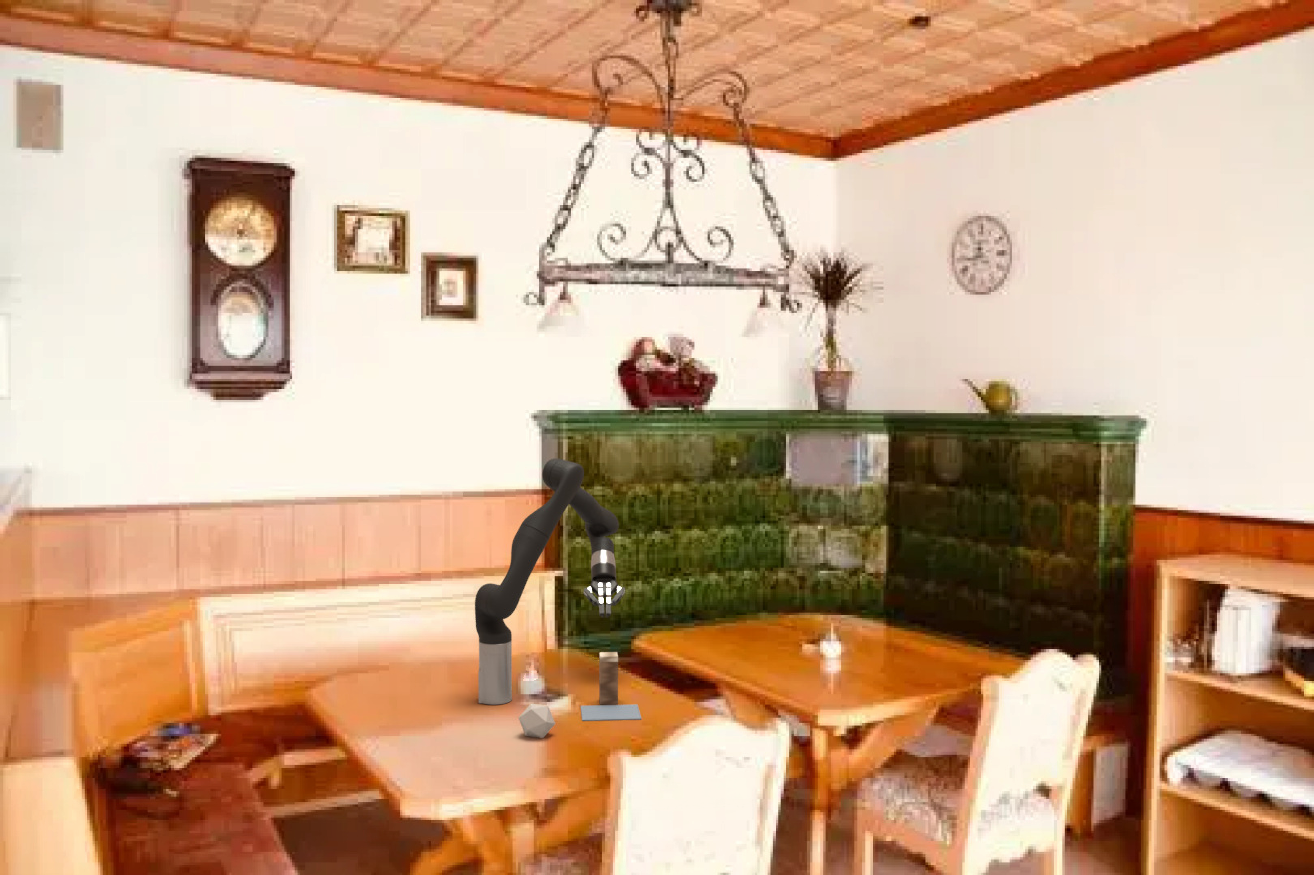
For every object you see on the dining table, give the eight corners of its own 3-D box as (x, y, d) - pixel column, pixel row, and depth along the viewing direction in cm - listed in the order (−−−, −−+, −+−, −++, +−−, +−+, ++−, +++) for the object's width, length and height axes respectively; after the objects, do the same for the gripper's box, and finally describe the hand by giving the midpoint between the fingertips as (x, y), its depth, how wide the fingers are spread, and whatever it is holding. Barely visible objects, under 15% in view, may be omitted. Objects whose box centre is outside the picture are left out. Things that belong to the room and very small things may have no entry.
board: (582, 721, 306) (582, 719, 306) (580, 706, 319) (580, 705, 319) (641, 719, 308) (641, 718, 308) (637, 705, 320) (637, 704, 320)
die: (560, 735, 296) (548, 701, 300) (555, 728, 288) (543, 693, 292) (530, 747, 295) (519, 713, 299) (524, 741, 287) (513, 705, 292)
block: (600, 705, 320) (600, 656, 319) (599, 700, 325) (599, 652, 324) (617, 705, 320) (618, 656, 320) (616, 700, 325) (616, 652, 325)
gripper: (581, 561, 348) (583, 609, 336) (625, 561, 349) (628, 609, 338) (581, 575, 353) (582, 623, 342) (624, 575, 355) (627, 622, 343)
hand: (605, 616), depth 340 cm, fingers closed
